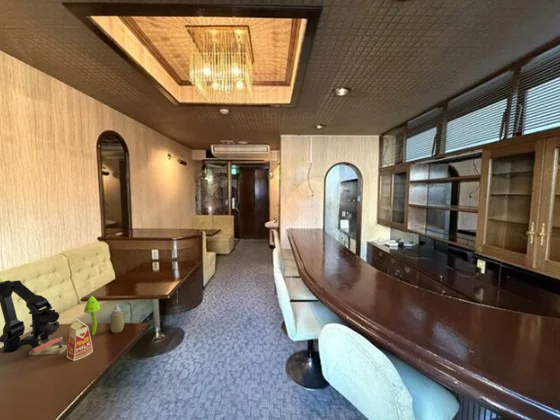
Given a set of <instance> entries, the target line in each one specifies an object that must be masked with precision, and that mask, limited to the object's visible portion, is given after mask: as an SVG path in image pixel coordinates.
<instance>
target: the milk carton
mask: <svg viewBox="0 0 560 420" xmlns="http://www.w3.org/2000/svg"><path fill="white" fill-rule="evenodd" d="M66 351H67V353H66V358H67V359H69V360H71V361H73V362H76V361H78V360H81V359H83V358H86V357H87V356H90V355H91V354H92V353H93V352H94V350H93V344H92V337H91V332H90V329H89V325H87V324H85V322H83V321H81V320H80V319H78V318H75V321H74V322H73V323H72V324H70V327H69V337H68V344H67V350H66Z"/></svg>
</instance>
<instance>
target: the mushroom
mask: <svg viewBox="0 0 560 420" xmlns="http://www.w3.org/2000/svg"><path fill="white" fill-rule="evenodd" d="M100 309H101V306H100V304H99V302H98V299H96V298H95V296H94V295H91V296H90V297H89V298H88V299H87V302H86V305H85V306H84V311H83V312H84V314H90V315H91V320H92V321H91V323H92V325H91V326H92V329H91V336H95V335H96V333H97V328H98V321H97V316H96V312H99V310H100ZM94 334H95V335H94Z"/></svg>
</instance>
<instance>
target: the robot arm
mask: <svg viewBox="0 0 560 420" xmlns="http://www.w3.org/2000/svg"><path fill="white" fill-rule="evenodd" d="M13 293H14V294H16V295H17V296H18V297H19V298H20V299H22V300H23V301H24V302H25V306H26V308H27V309H28V310H29V312H28V315H31V324H30V325H29V326H30V328H31V330H32V331H31V332H30V335H27V336H25V337H23V338H21V336H24V335H25V329H26V326H25V322H24V321H23V320H19V319H18V316H17V312H16V307H15V305H14V301H13V296H12V295H13ZM0 307H1V308H0V309H1V312H2V316H3V319H4V326H3V328H2V334H1V335H0V343H3V350H1V353H13V352H15V351H18V350H19V349H20V348H21V347H23V346H30V347H31V349H32V348H33V349H34V348H36V347H38V346H39V341H40V340H47V339H49V337H50V336H52V335H53V334H55V333H57V331H58V329H59V328H60V322H59V321H58V320H59V318H60V314H59V312H58V311H56V310H55V309H53V306H52V304H51V303H50V302H49V300H48V299H47V298H46V297H44V296H42V295H39V294H36V293H34V292H33V291H32V290H30V289H29V288H28V287H27V286H25V285H24V284H23V283H22V281H21V280H18V279H17V280H9V279H8V280H3V281H0Z"/></svg>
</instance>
